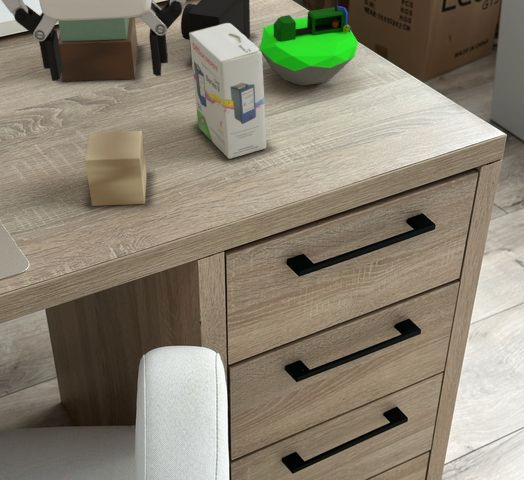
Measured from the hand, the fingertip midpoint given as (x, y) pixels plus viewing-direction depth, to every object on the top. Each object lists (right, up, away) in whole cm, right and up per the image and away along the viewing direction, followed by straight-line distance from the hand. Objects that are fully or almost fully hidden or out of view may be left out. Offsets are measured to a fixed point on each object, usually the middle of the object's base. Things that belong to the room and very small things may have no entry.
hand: (107, 72), depth 92 cm
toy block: (0, -10, +9) cm, 14 cm away
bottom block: (-6, +10, +31) cm, 33 cm away
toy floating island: (+20, +7, +28) cm, 35 cm away
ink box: (+11, -3, +17) cm, 21 cm away
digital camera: (+9, +13, +34) cm, 37 cm away
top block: (-6, +14, +28) cm, 32 cm away
